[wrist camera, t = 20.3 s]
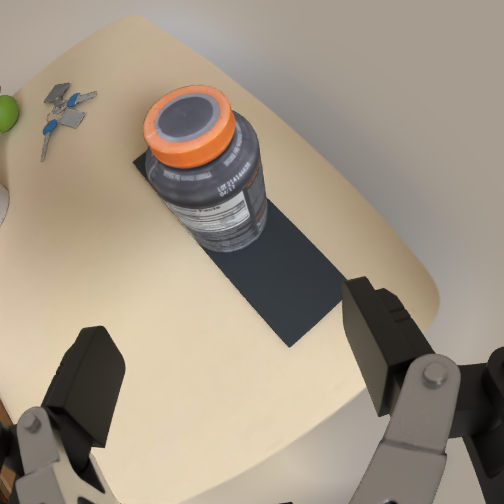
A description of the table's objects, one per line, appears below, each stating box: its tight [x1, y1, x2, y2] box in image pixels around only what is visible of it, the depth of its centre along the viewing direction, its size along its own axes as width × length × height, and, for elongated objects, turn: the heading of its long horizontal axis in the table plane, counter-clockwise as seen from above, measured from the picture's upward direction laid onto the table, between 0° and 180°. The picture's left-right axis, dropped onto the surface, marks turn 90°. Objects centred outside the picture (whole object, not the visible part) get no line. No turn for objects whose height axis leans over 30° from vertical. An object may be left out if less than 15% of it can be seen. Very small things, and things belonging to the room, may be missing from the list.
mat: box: [133, 151, 347, 348], centre depth 23 cm, size 20×6×1 cm, turn 41°
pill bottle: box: [143, 85, 268, 252], centre depth 17 cm, size 6×6×11 cm
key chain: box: [41, 83, 97, 162], centre depth 29 cm, size 14×8×1 cm, turn 23°
